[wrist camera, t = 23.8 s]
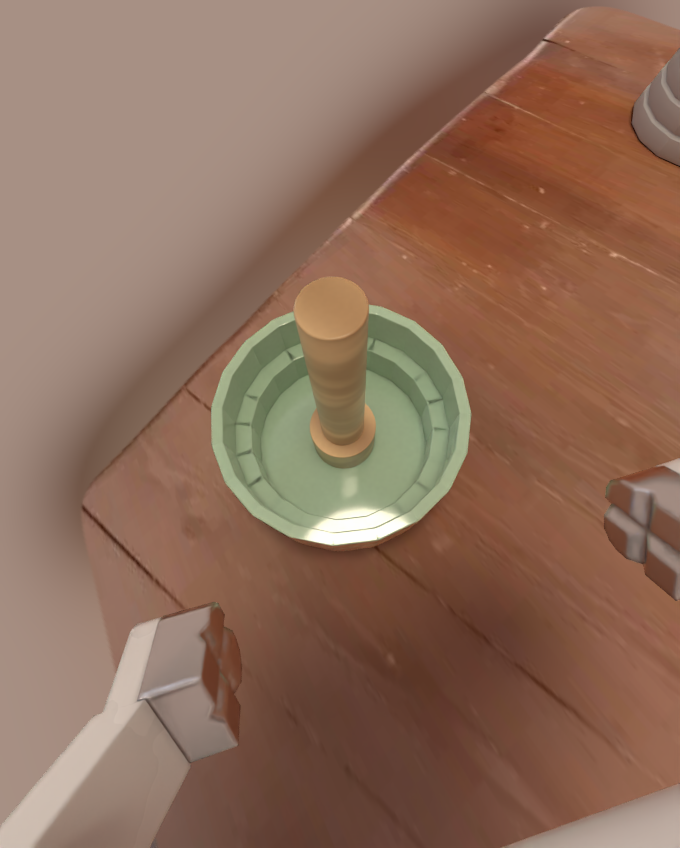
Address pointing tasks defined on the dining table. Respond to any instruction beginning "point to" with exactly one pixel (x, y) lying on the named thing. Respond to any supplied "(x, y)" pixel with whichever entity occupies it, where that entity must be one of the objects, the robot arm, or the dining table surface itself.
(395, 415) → the mixing bowl
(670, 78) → the soap bottle
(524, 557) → the dining table surface
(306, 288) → the muddler
